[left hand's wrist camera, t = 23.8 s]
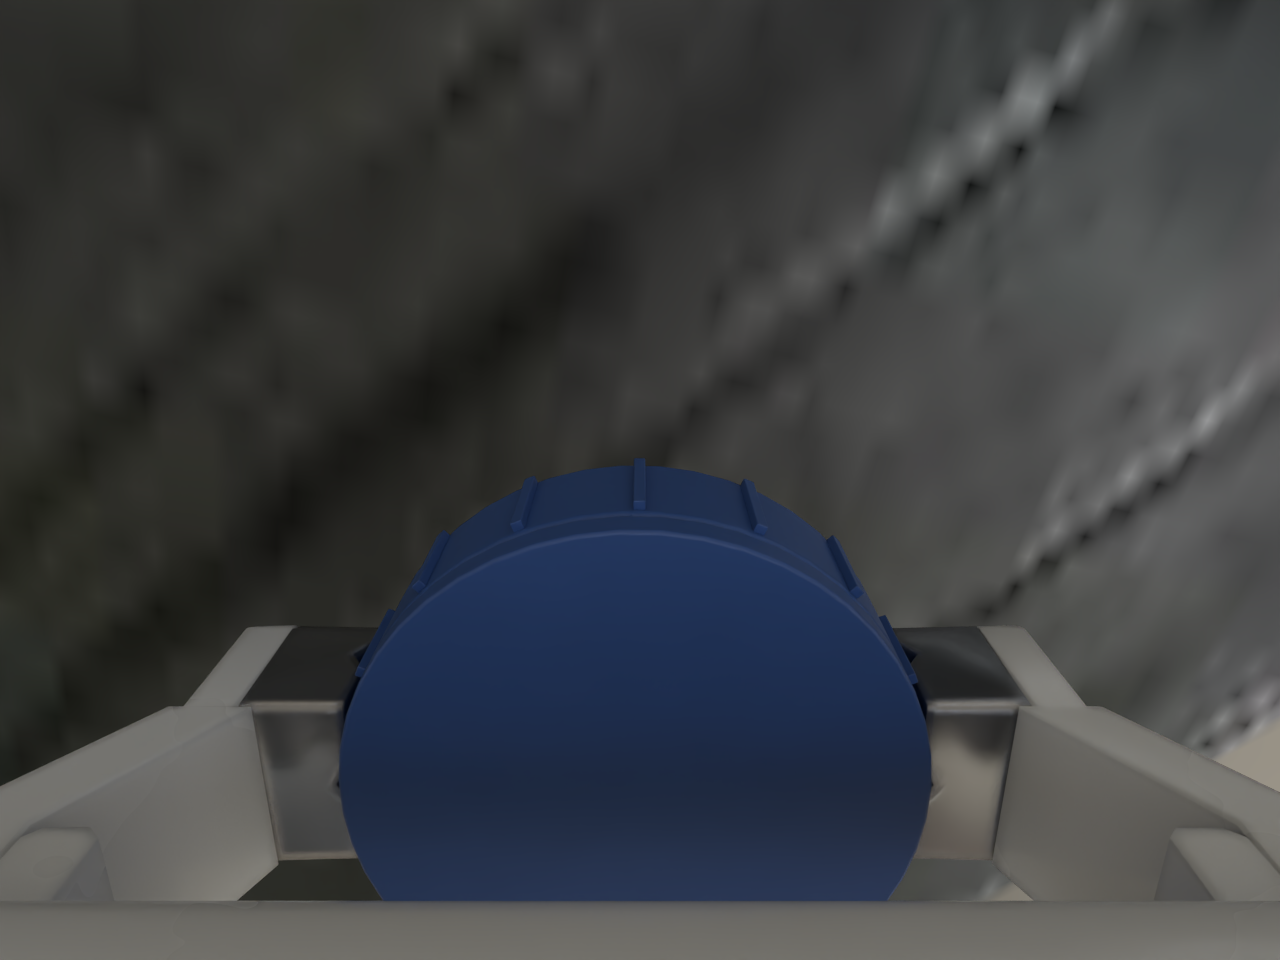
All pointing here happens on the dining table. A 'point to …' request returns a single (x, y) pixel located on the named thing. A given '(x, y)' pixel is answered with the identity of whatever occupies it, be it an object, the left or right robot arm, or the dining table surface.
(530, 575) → the lid
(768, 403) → the dining table surface
